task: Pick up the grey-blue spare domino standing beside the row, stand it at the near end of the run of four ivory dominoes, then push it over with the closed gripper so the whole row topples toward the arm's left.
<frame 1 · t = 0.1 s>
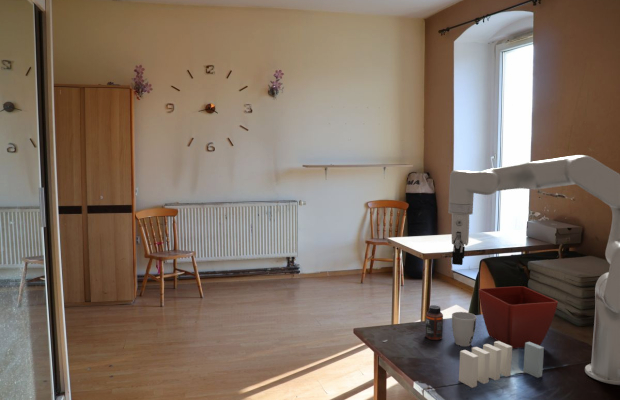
hand: (458, 261, 165), 31 cm above the table, tool pointing down, fingers open, 9 cm apart
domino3: (490, 376, 152), on the table
domino1: (532, 373, 154), on the table
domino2: (501, 372, 155), on the table
cup: (462, 344, 177), on the table
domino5: (467, 383, 147), on the table
domino4: (479, 379, 150), on the table
supplement bottle: (433, 338, 182), on the table
plant pot: (514, 341, 180), on the table
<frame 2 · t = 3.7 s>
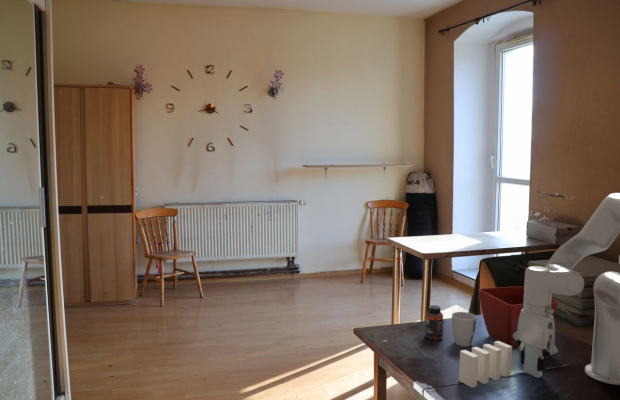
hand: (532, 365, 154), 2 cm above the table, tool pointing down, fingers closed on domino1, 4 cm apart
domino1: (532, 373, 154), on the table, touching gripper
everything else where it was.
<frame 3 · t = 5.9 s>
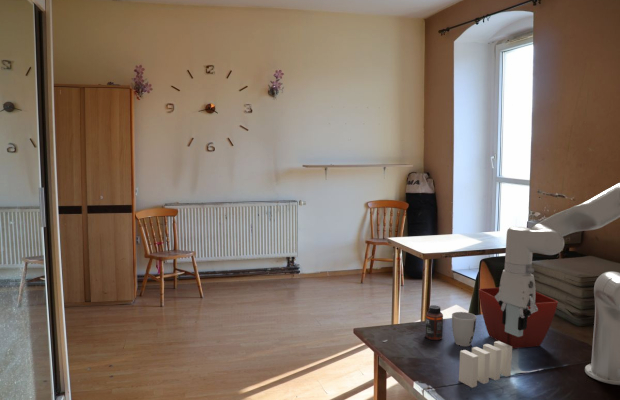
hand: (514, 325, 155), 14 cm above the table, tool pointing down, fingers closed on domino1, 4 cm apart
domino1: (513, 333, 156), point 11 cm above the table, touching gripper
everything else where it was.
when the fingers open (3 cm above the table, at t = 8.5 s): domino1 stays where it is, on the table.
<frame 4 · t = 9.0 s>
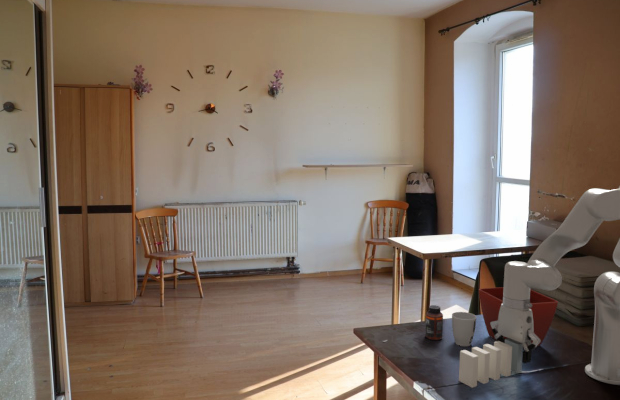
hand: (512, 356, 156), 4 cm above the table, tool pointing down, fingers open, 9 cm apart
domino1: (512, 369, 157), on the table
everything else where it was.
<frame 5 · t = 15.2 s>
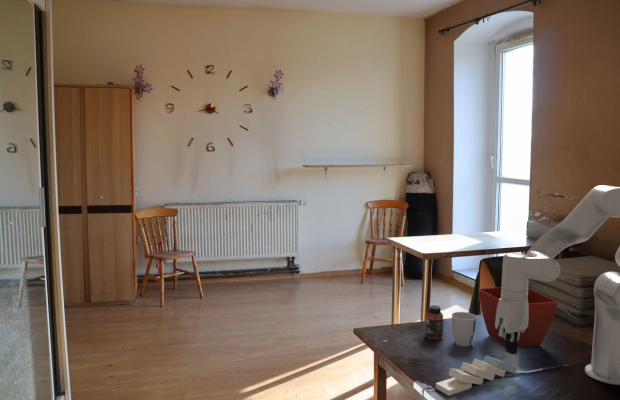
hand: (510, 352, 156), 6 cm above the table, tool pointing down, fingers closed
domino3: (487, 374, 151), point 1 cm above the table, tilted 66°, touching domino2, domino4
domino1: (509, 367, 156), point 1 cm above the table, tilted 66°, touching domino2
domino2: (497, 370, 154), point 1 cm above the table, tilted 66°, touching domino1, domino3
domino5: (464, 382, 147), on the table, tilted 90°
domino4: (475, 378, 149), point 1 cm above the table, tilted 70°, touching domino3
everything else where it was.
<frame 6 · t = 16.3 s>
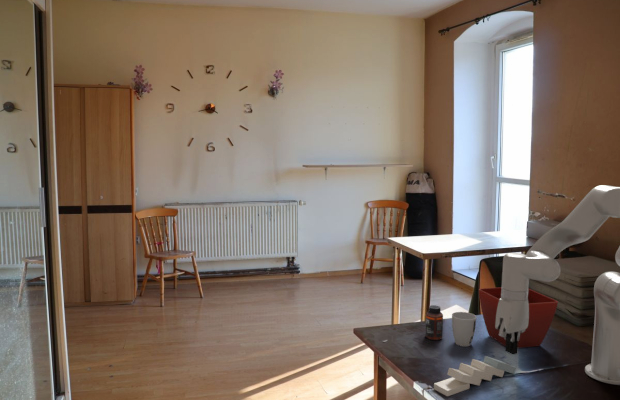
hand: (511, 352, 156), 6 cm above the table, tool pointing down, fingers closed
domino4: (473, 378, 148), point 1 cm above the table, tilted 68°, touching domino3
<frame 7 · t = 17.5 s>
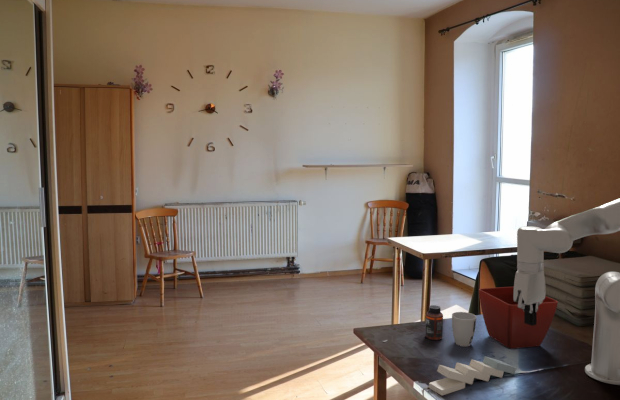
hand: (530, 324, 159), 13 cm above the table, tool pointing down, fingers closed
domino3: (483, 374, 151), point 1 cm above the table, tilted 68°
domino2: (496, 371, 153), point 1 cm above the table, tilted 68°, touching domino1
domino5: (458, 382, 147), on the table, tilted 90°
domino4: (467, 378, 148), point 1 cm above the table, tilted 68°
everything else where it was.
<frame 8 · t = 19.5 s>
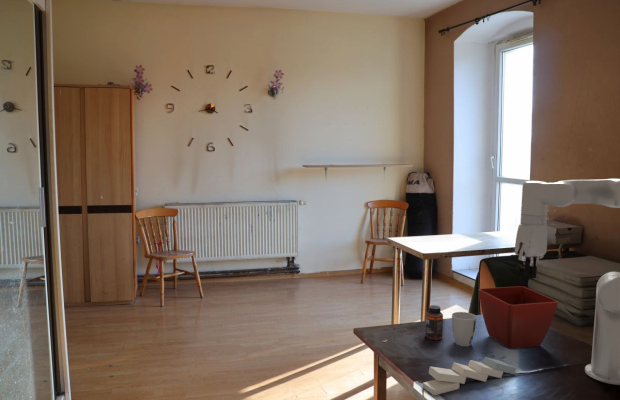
hand: (530, 277, 161), 27 cm above the table, tool pointing down, fingers closed
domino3: (481, 375, 150), point 1 cm above the table, tilted 69°, touching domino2, domino4
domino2: (495, 371, 153), point 1 cm above the table, tilted 69°, touching domino1, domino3
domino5: (453, 383, 146), on the table, tilted 90°, touching domino4
domino4: (460, 376, 147), point 2 cm above the table, tilted 77°, touching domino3, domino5
everything else where it was.
at the end: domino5 tilted 90°; domino1 tilted 69° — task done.
